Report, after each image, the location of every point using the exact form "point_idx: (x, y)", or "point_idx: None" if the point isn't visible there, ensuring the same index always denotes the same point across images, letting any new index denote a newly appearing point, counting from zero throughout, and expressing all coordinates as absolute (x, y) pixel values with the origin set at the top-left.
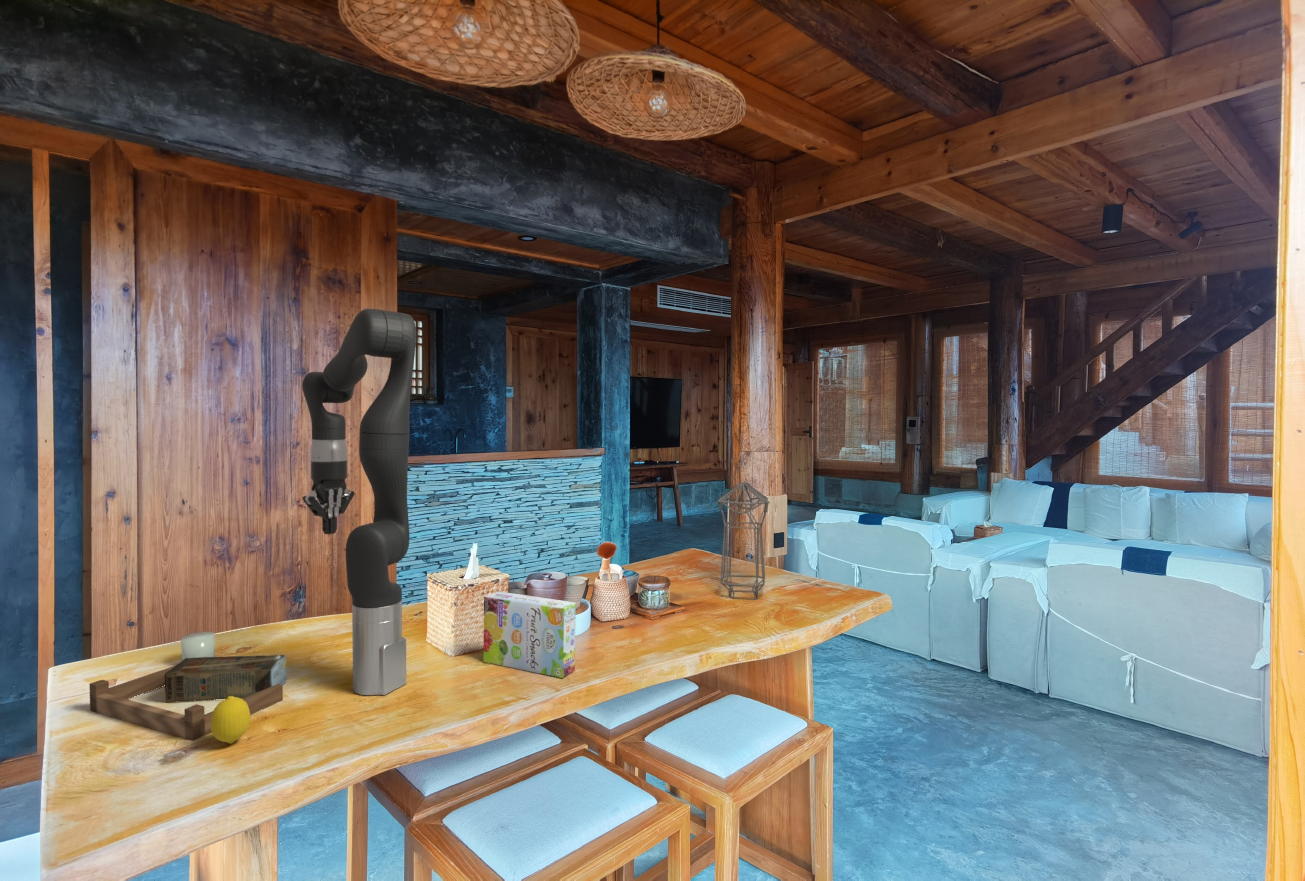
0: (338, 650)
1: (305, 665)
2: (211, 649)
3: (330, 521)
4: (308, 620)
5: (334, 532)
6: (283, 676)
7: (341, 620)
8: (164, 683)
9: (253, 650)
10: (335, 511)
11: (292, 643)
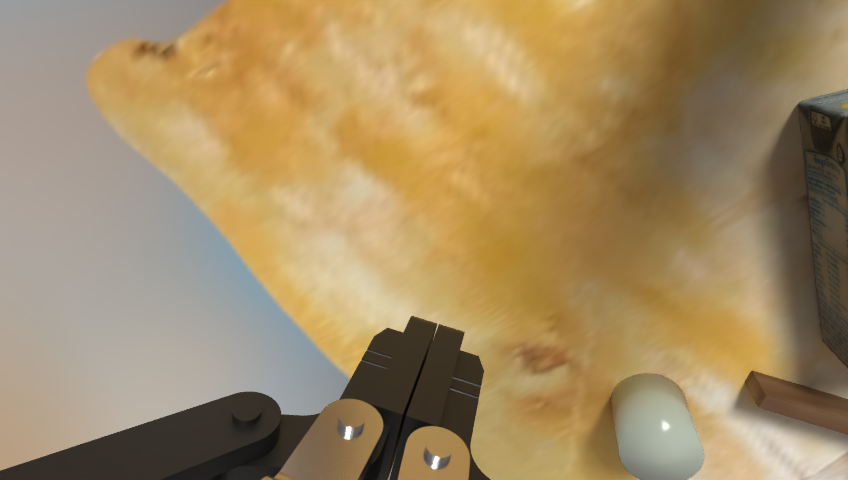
0: (518, 105)
1: (654, 128)
2: (656, 398)
3: (444, 405)
4: (312, 328)
5: (424, 320)
6: (842, 96)
7: (286, 247)
8: (815, 393)
9: (546, 333)
10: (353, 460)
11: (482, 270)
